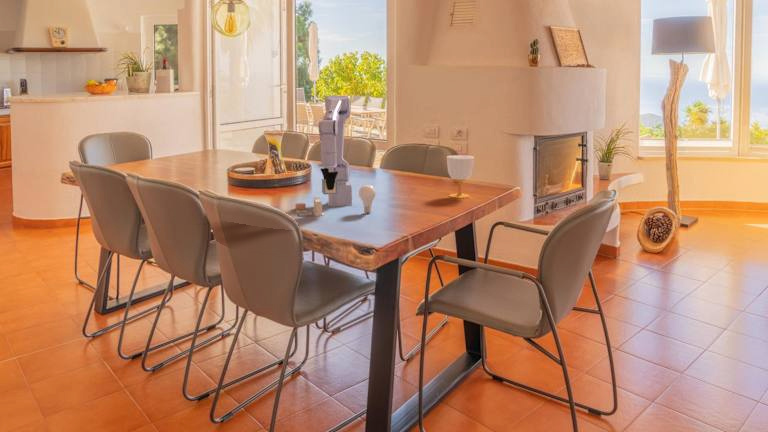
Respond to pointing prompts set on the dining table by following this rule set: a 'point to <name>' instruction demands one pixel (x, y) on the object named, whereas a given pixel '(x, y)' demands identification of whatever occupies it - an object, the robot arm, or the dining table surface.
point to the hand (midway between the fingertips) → (329, 188)
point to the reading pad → (305, 214)
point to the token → (300, 206)
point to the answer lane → (301, 210)
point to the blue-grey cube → (325, 190)
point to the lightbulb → (367, 197)
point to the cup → (460, 170)
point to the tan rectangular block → (317, 207)
